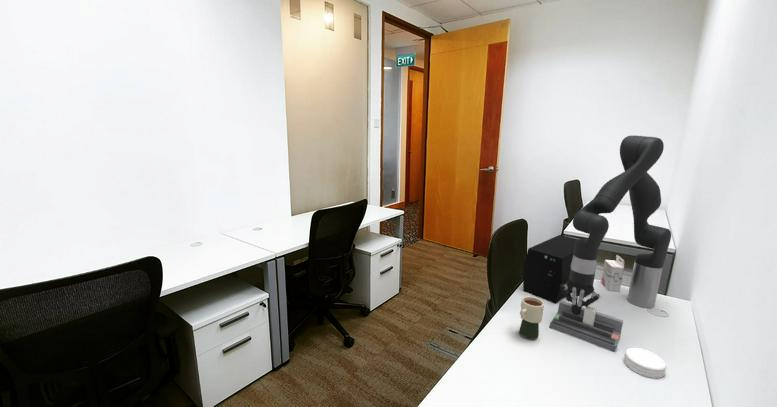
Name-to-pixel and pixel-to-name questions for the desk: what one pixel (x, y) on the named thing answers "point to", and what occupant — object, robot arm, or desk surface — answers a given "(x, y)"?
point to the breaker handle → (589, 315)
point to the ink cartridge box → (613, 274)
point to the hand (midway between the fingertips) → (575, 313)
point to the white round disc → (645, 362)
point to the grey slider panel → (588, 327)
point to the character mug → (531, 316)
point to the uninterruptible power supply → (548, 268)
